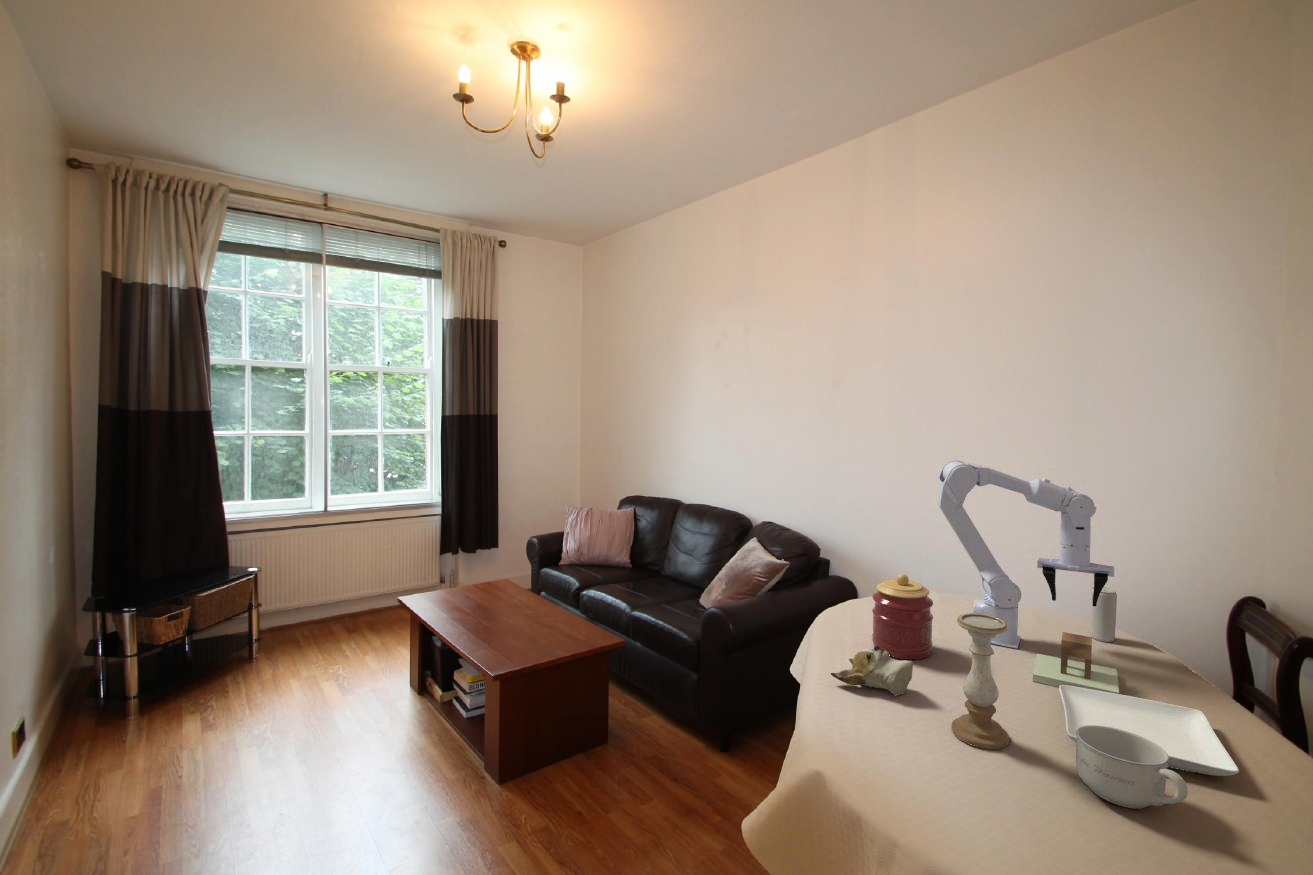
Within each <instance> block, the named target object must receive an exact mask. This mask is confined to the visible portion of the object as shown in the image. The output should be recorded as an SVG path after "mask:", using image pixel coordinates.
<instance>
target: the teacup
mask: <svg viewBox="0 0 1313 875" xmlns="http://www.w3.org/2000/svg"><path fill="white" fill-rule="evenodd" d="M1076 736H1077V742H1075V743H1076V744H1075V746H1076V747H1075V763H1076V764H1075V765H1076V770H1077V773H1078V775H1079V777H1080V779H1082V780H1081V781H1083V782H1084V784H1086V786H1088V787H1089V789H1091V791H1092V792H1094V794H1096V795H1097V796H1098V797H1100V798H1101V799H1103V800H1105V801H1107V802H1109V803H1112V804H1114V805H1117V806H1120V807H1123V808H1127V807H1128V809H1136V808H1138V809H1145V808H1147V807H1149V806H1150V807H1151V806H1154V807H1155V806H1156V807H1160V806H1163V805H1164V804H1167V805H1168V804H1170V805H1173V804H1178V803H1182V802H1183V801H1185V800H1186V799H1187V797H1188V794H1189V792H1188V791H1189V790H1188V786H1187V783H1186V781H1185V780H1184V778H1183V777H1182V776H1181V775H1180V774H1179V773H1177V772H1175V771H1173V770H1171V769H1168V767H1167V763H1168V762H1169V756H1168V754H1167V753H1166V752H1165V751H1164V750H1163V749H1162V748H1161V747H1160V746H1158V745H1157V744H1155V743H1153V742H1152V741H1150V740H1148V739H1146V738H1144V737H1141V736H1139V735H1136V734H1133V733H1131V732H1128V731H1124V730H1121V729H1117V728H1112V727H1106V726H1096V725H1093V726H1092V725H1086V726H1083V727H1080V728H1078V729H1077V731H1076ZM1167 779H1169V780H1170V781H1171V782H1173V785H1174V787H1175V790H1176V791H1175V793H1174V794H1173V795H1164V794H1165V791H1166V785H1167Z"/></svg>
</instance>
